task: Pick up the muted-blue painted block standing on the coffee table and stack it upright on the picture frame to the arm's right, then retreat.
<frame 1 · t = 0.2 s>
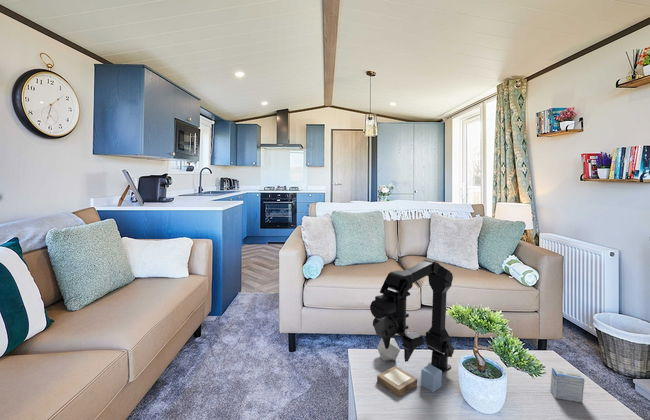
hand: (396, 354, 106), 14 cm above the table, fingers open, 9 cm apart
picture frame: (396, 383, 113), on the table
medicine box: (565, 397, 107), on the table
block: (431, 385, 112), on the table
die: (388, 358, 130), on the table
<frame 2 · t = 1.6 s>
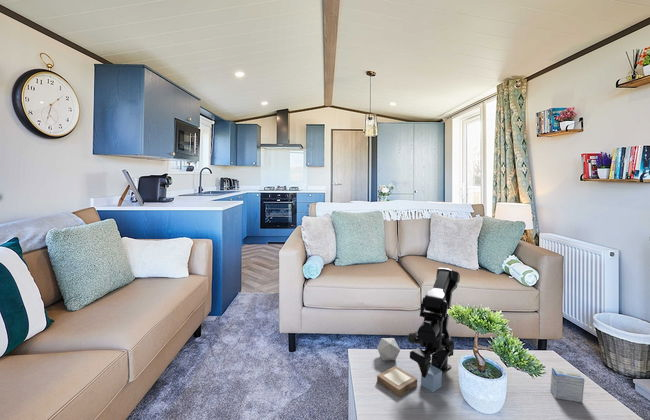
hand: (431, 372, 112), 5 cm above the table, fingers open, 9 cm apart
nothing on the table moved.
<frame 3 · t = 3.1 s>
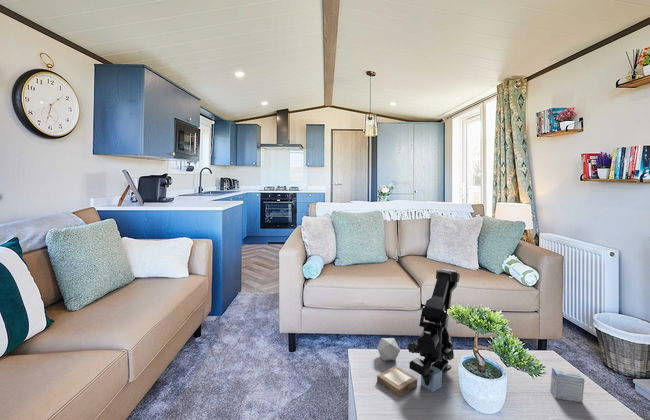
hand: (431, 382, 112), 1 cm above the table, fingers closed on block, 5 cm apart
block: (431, 385, 112), on the table, touching gripper
everything else where it was.
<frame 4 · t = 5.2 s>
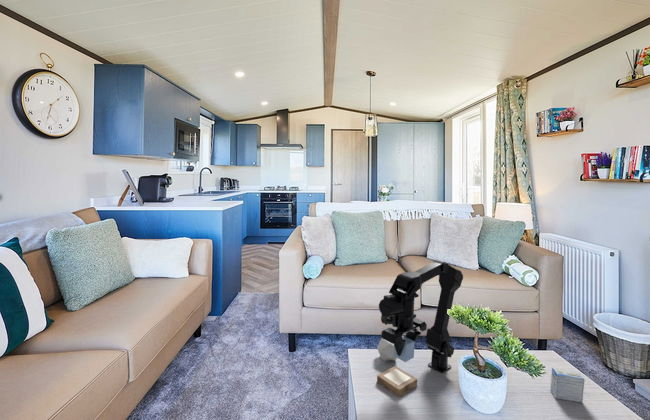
hand: (403, 353, 112), 12 cm above the table, fingers closed on block, 5 cm apart
block: (403, 356, 112), point 11 cm above the table, touching gripper
everything else where it was.
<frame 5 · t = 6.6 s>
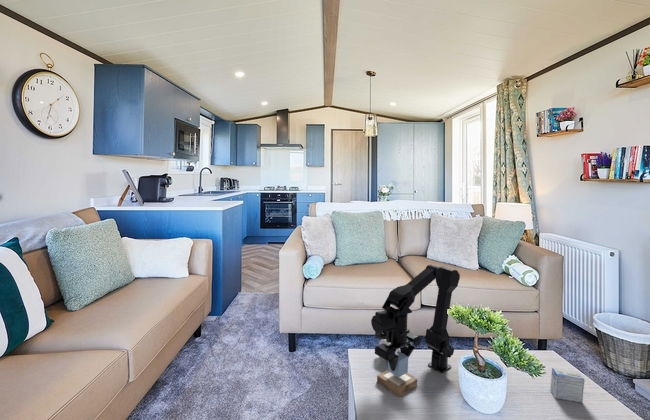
hand: (397, 367, 113), 6 cm above the table, fingers closed on block, 5 cm apart
block: (397, 371, 113), point 5 cm above the table, touching gripper
everything else where it was.
when the fingers open (5 cm above the table, at t = 7.7 s): block stays where it is, resting on picture frame.
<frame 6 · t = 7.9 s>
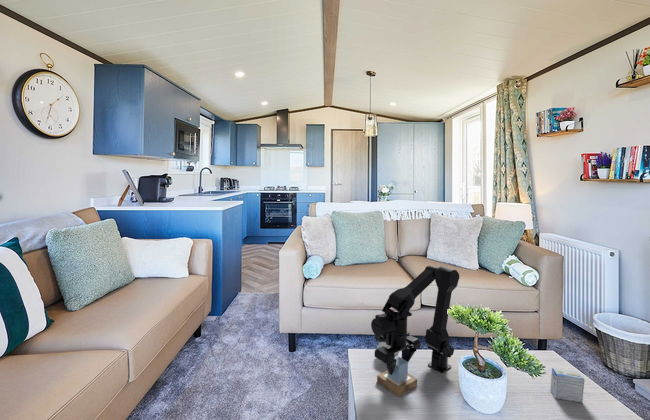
hand: (397, 370, 113), 5 cm above the table, fingers open, 7 cm apart
block: (397, 376, 113), point 3 cm above the table, touching picture frame
everything else where it was.
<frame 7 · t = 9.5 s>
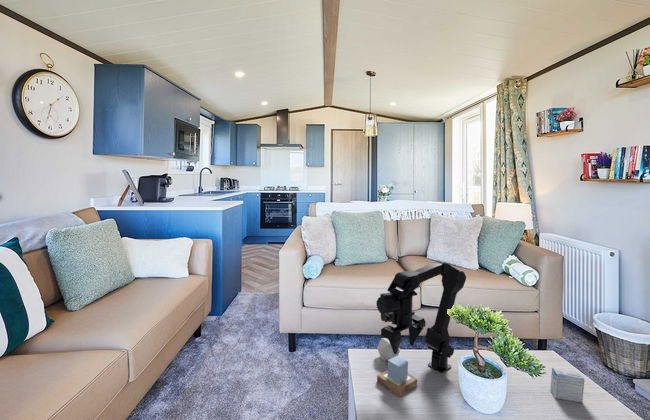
hand: (403, 349, 115), 12 cm above the table, fingers open, 9 cm apart
nothing on the table moved.
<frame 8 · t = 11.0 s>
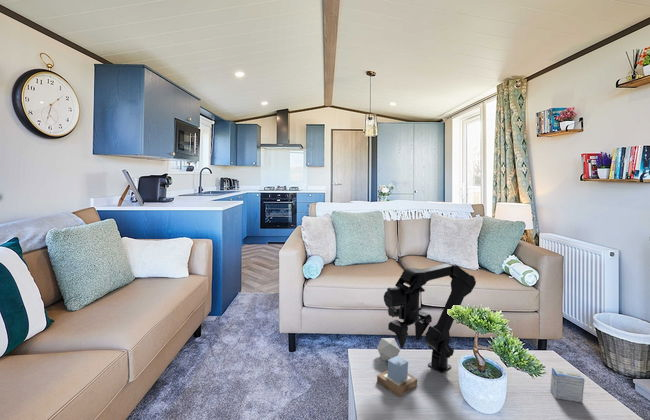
hand: (409, 343, 118), 12 cm above the table, fingers open, 9 cm apart
nothing on the table moved.
at the end: block inside the target area on the picture frame (0.1 cm from its centre), point 2.6 cm above the picture frame's base; block tilted 0°; the gripper is holding nothing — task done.
